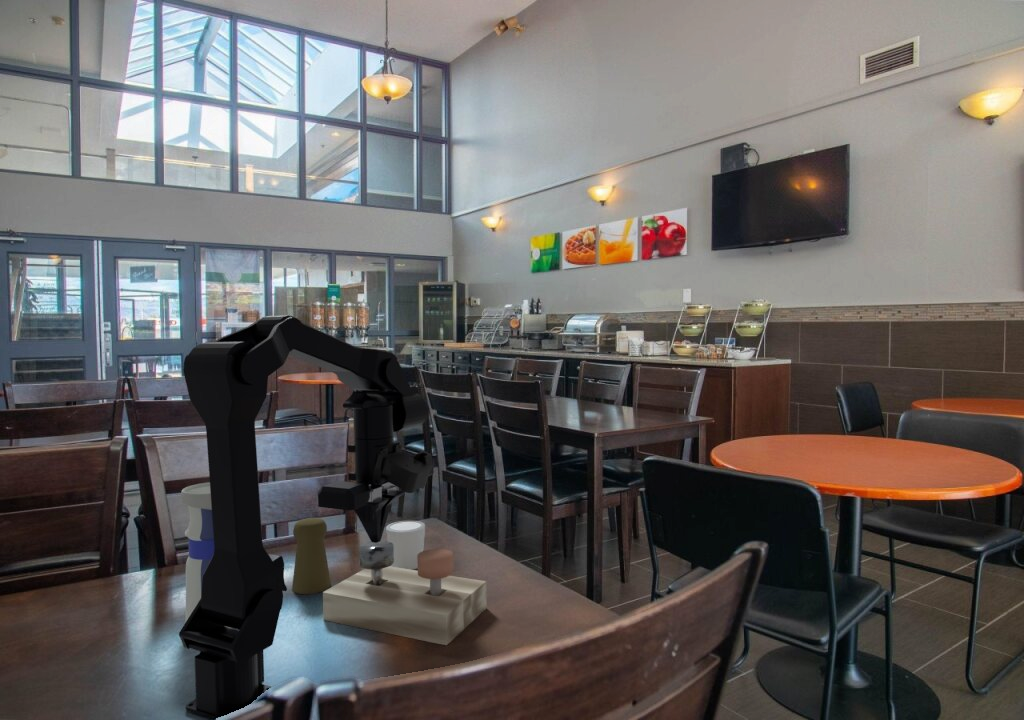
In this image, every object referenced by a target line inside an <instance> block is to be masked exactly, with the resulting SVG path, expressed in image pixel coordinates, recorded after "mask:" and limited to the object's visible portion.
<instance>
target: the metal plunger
mask: <svg viewBox="0 0 1024 720" xmlns="http://www.w3.org/2000/svg"><path fill="white" fill-rule="evenodd" d="M358 561H359V562H358V563H359V564H358V565H359V567H360V568H362V569H371V579H372V585H376V586H380V585H382V584H383V575H382V568H386V567H389V566H391V565H392V564H393V563H394V545H393V543H391V542H388V540H381V541H380V542H378V543H374V542H371V541H369V542H366V543H362V544H361V545H359V547H358Z"/></svg>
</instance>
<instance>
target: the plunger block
mask: <svg viewBox="0 0 1024 720" xmlns="http://www.w3.org/2000/svg"><path fill="white" fill-rule="evenodd" d="M382 575H383V584H382V585H380V586H376V585H372V579H371V569H364V568H362V570H360V571H358V572H357V573H354V574H352V575H350V576H349V577H347V578H346V579H343V580H342V581H341V582H339V583H337V584H335V585H333V586H332V587H331V586H330V587H329V588H328V589H326V590H324V591H322V610H323V613H322V614H323V616H322V617H323V619H322V620H323V621H328V622H331V623H336V624H341V625H347V626H351V627H354V628H355V627H356V628H361V629H366V630H370V631H375V632H379V633H385V634H390V635H395V636H399V637H405V638H409V639H414V640H418V641H419V640H420V641H424V642H427V643H433V644H438V645H442V646H448V644H450V643H451V642H452V641H453V640H454V639H455V638H456V637H457V636H458V635H460V634H461V633H462V632H463V631H464V630H465V629H466V628H467V627H468V626H469V625H470V624H471V623H473V622H474V621H475V620H476V619H477V618H478V617H479V616H480V615H481V614H482V613H483V612H484V611H486V609H487V605H488V604H487V581H486V580H479V579H474V578H467V577H461V576H454V575H450V576H448V577H445V578H441V587H442V594H441V595H440V596H434V595H430V579H425V578H422V577H420V576H419V575H418V570H417V569H412V570H410V569H403V568H397V567H391V566H389V567H386V568H382Z"/></svg>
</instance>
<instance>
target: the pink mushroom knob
mask: <svg viewBox="0 0 1024 720" xmlns="http://www.w3.org/2000/svg"><path fill="white" fill-rule="evenodd" d="M417 565H418V568H417V571H418V575H419V576H420V577H422V578H425V579H430V595H434V596H440V595H441V594H442V587H441V578H445V577H448V576H452V575H453V573H454V553H453V552H452V551H451V550H449V549H443V548H431V549H425V550H423V551H422V552H420V553H419V554H418V555H417Z"/></svg>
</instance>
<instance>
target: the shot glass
mask: <svg viewBox="0 0 1024 720" xmlns="http://www.w3.org/2000/svg"><path fill="white" fill-rule="evenodd" d="M385 527H386V528H385V529H386V530H385V531H386V539H387V542H391V543H393V545H394V563H393V564H392V565H391V567H397V568H403V569H410V570H417V569H418V565H417V555H418V554H419V553H420V552H422V551H425V550H424V548H425V545H424V544H425V533H426V524H425V522H422V521H419V520H400V521H395V522H392V523H390V524H387V525H385Z"/></svg>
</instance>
